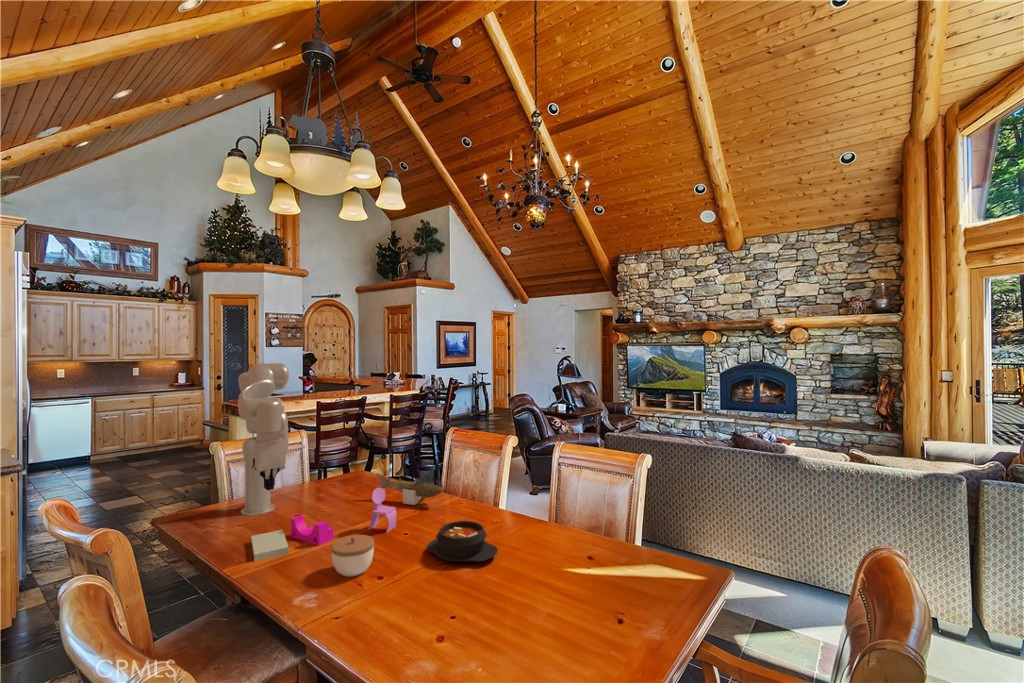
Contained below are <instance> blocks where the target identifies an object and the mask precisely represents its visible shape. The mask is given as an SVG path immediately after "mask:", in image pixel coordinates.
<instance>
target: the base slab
mask: <svg viewBox="0 0 1024 683" xmlns="http://www.w3.org/2000/svg"><path fill="white" fill-rule="evenodd" d="M250 540H251V541H250V542H251V547H252V548H251V549H252V554H253V559H254V562H257V561H258V560H259V561H262V560H267V559H273V558H276V557H282V556H285V555H286V556H287V555H289V554H290V551H289V550H290V549H289V543H288V542H287V539H286V535H285V533H284V530H283V529H279V530H275V531H270V532H266V533H265V532H263V533H259V534H255V535H251V538H250ZM259 561H258V562H259Z"/></svg>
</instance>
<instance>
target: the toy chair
mask: <svg viewBox="0 0 1024 683" xmlns="http://www.w3.org/2000/svg"><path fill="white" fill-rule="evenodd" d="M384 500H386V490H385V488H380V487H376V488H375V489H374V490H373V492H372V494H371V502H372V503H374V509H372V510H371V514H370V524H369V527H368V529H367V530H368V531H370V530H371V529H373V528H374V527H376V526H378V525H379V524H380V522H379V518H380V515H381V516H385V517H386V519H387V521H388V526H387V529H386V531H385V533H389V532H390V531H391V530H393V529H394V528H396V527H397V509H396V506H387V505H384V504H382V503H383V502H384Z"/></svg>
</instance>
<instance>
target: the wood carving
mask: <svg viewBox="0 0 1024 683" xmlns="http://www.w3.org/2000/svg"><path fill="white" fill-rule="evenodd" d="M375 475H376V480H377V481H378V485H379V488H383V489H392V490H394V491H397V492H399V493H402V504H405V505H410V506H411V505H412V506H415V505H417V504H418V503H422V502H423V501H424V500H425V499H426V498H434V497H436V496H437V495H440V494H441V493H442V492H443V489H444V488H443V487H441V486H439V485H435V484H432V483H428V482H427V483H426V482H423V481H422V480H421V478H419V477H415V481H407V480H403V479H402V478H401V477H399V478H398V479H397V480H396V479H392V478H391V479H389V478H387V477H386V476H385V475H383V474H381V473H378V472H376V474H375Z"/></svg>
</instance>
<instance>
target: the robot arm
mask: <svg viewBox="0 0 1024 683" xmlns="http://www.w3.org/2000/svg"><path fill="white" fill-rule="evenodd" d="M289 375H290V374H289V369H288V366H286V365H285V364H284V363H282V362H277V363H276V362H273V363H272V362H271V363H257V364H254V365H252V366H251V367H249V369H248V371H245V372H243V373H240V374H239V376H238V387H239V389H240V393H239V396H238V399H237V407H238V416H239V417H240V419H242V420H243V421H245V428H246V431H247V432H248V433H249V434H253V435H254V434H256V436H252V437H248V438H247V439H245V440H244V441H243V442H242V446H241V448H242V450H241V451H242V455H243V463H244V508H242V509H241V510H240V514H241V515H242V516H258V514H260V515H264V514H267V512H268V513H270V512H272V511H274V509H275V504H273V503H271V490H274V489H275V484H276V479H275V478H276V477H277V475H278V474H279V472H280V471H284V469H285V470H286V464H287V463H286V462H287V456H286V455H287V454H288V452H289V421H288V420H289V419H288V414H287V412H286V411H285V403H284V401H283V400H282V399H281V397H275V396H273V397H270V396H271V395H272V394H274V392H275V391H279V390H280V391H281V390H284V388H285V387H286V385H287V383H288V381H289V379H290V376H289Z"/></svg>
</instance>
